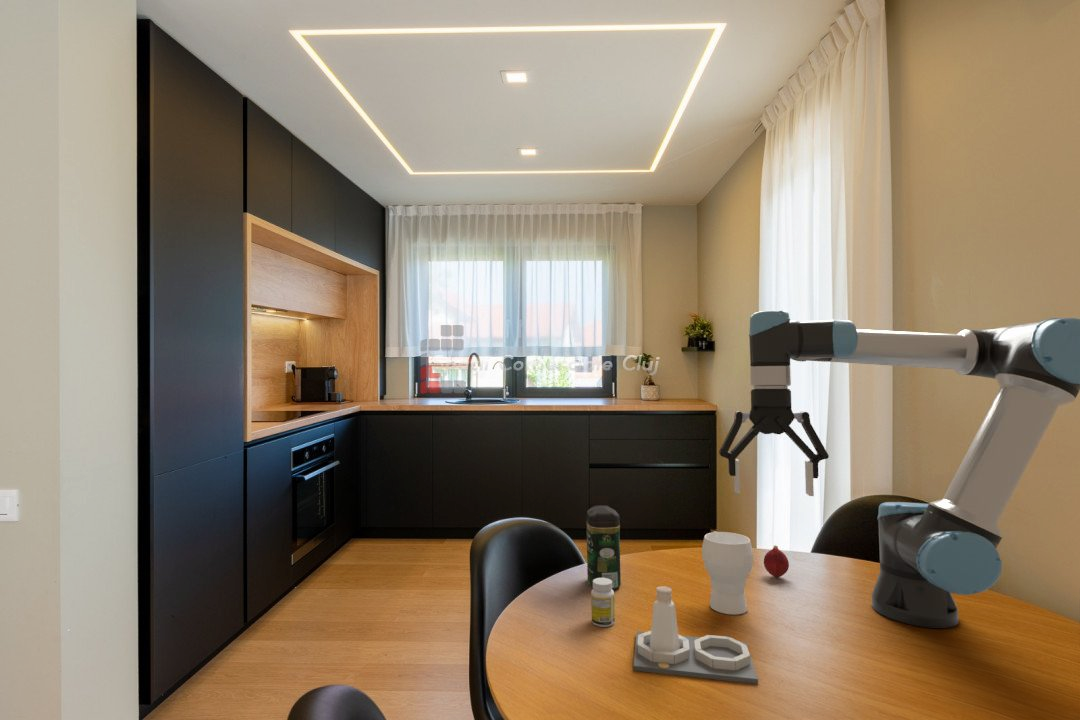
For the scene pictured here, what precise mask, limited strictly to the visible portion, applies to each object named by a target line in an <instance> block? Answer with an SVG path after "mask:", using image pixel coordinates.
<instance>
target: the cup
mask: <svg viewBox="0 0 1080 720" xmlns="http://www.w3.org/2000/svg"><path fill="white" fill-rule="evenodd" d="M702 541H703V542H702V547H701V555H702V562H703V564H704V567H705V570H706V571H707V573H708V576H709V577H710V578H709V579H710V584H711V593H710V598H709V599H710V602H709V607H710V608H711V609H712V610H714V611H716V612H718V613H721V614H726V615H742V614H745V613H747V612H748V606H747V605H748V604H747V599H746V594H745V591H746V590H745V589H746V581H747V580H748V577H749V576H750V574H751V572H752V569H753V565H754V549H753V547H752V542H751V539H750V538H749V537H748V536H746V535H743V534H739V533H735V532H727V531H718V532H717V531H716V532H715V531H713V532H709V533H708V532H707V533H706V534H705V535H704V537H703V540H702Z"/></svg>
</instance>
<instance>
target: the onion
mask: <svg viewBox="0 0 1080 720" xmlns="http://www.w3.org/2000/svg"><path fill="white" fill-rule="evenodd" d="M763 566H764V568H765V570H766V571H767V572H768V574H770V575H771V576H772V577H773V578H774V579H778V578H780V577H782V576H784V575H785V574H786V573H787V572H788V571H789V566H790V564H789V559H788V558H787V556H786V554H785V553H784V552H783V551H782V550H780V549H779V546H777V545H776V544H774V545H773V548H772V549H769V551H767V553H765V555H764V558H763Z"/></svg>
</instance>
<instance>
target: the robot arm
mask: <svg viewBox="0 0 1080 720" xmlns="http://www.w3.org/2000/svg"><path fill="white" fill-rule="evenodd" d="M748 337H749V358H750V360H749V361H750V364H749V365H750V367H749V368H750V385H751V387H753V388H751V390H750V410H749V412H742V411H739V410H735V412H734V418H733V420H734V421H733V422H732V425H731V427H730V429H729V431H728V432H727V434H726V437H725V438H724V440H723V442H722V445H721V447H720V449H719V450H718V454H719V455H720V457H722V458H725V459H727V461H728V474H729V476H731V477H734V478H733V479H734V480H733V482H734V487H733V488H734V492H735V494H741V469H740V468H741V467H740V466H741V464H740V463H741V462H740V460H739V459H738V457H739V456H740V455H741V453H742V452H743V451H745V449H746V448H747V447H748V445H749V444H750V443H751V442H752V441H753V439H755V438H756V437H757V436H758V435H759V433H761V434H763V435H771V434H775V435H781V434H784V433H785V434H786V435H787V437H789V439H790V440H791V441H792V442H793V443H794V444H795V445H796V446H797V447H798V448H799V450H800V451H801V452H802V453H803V454H804V456H806V458H808V460H805V461H804V469H805V471H804V475H805V476H804V477H805V494H806V495H807V496H809V497H815V496H814V495H815V492H814V479H818V478H819V463H820V462H821V461H823V460H828V459H829V458H830V457H829V454H828V452H827V450H826V448H825V446H824V444H823V443H822V441H821V439H820V437H819V436H818V434H817V433H816V431H815V428H814V427H813V425H812V423H811V418H810V413H809V412H807V411H800V412H794V413H793V410H792V391H791V389H790V388H789V387H790V386H791V385H792V381H791V380H792V379H791V378H792V377H791V360H793V361H796V362H806V361H811V362H824V363H825V362H828V363H829V362H830V363H845V364H857V365H858V364H859V365H860V364H861V365H877V366H878V365H879V366H891V367H892V366H893V367H907V368H908V367H909V368H924V369H939V370H941V369H942V370H953V371H954V372H955V373H957V374H958V375H961V376H972V377H973V376H974V377H983V378H989V379H993V380H994V379H995V380H996V382H997V385H999V390H998V391H997V393H996V395H995V397H994V400H993V401H992V403H991V404H990V407H989V409H988V411H987V413H986V415H985V417H984V418H983V420H982V423H981V424H980V426H979V428H978V430H977V432H976V435H975V436H974V438H973V440H972V442H971V444H970V445H969V448H968V450H967V452H966V453H965V456H964V457H963V458H962V461H961V462H960V465H959V467H958V469H957V471H956V472H955V475H954V476H953V479H952V480H951V482H950V484H949V486H948V488H947V491H946V492H945V494H944V496H943V498H941V499H938V500H934V501H930V502H929V503H921V502H906V501H905V502H903V501H902V502H901V501H885V502H882V503H880V504H879V505H878V515H877V521H878V546H879V573H878V576H877V579H876V582H875V583H874V587H873V590H872V593H871V606H872V608H873V609H874V610H875V611H876V612H877V613H879V614H880V615H882V616H885V617H887V618H888V619H891V620H893V621H897V622H900V623H903V624H906V625H911V626H916V627H922V628H931V629H946V628H947V629H948V628H953V627H955V626H957V625H959V623H958V622H959V621H960V620H959V618H960V617H959V609H958V606H957V604H956V601H955V600H954V597H953V595H952V594H954V595H955V594H956V595H959V596H960V595H961V596H968V595H969V596H971V595H975V594H980V593H983V592H985V591H986V590H989V589H990V588H991V587H993V586H994V585H995V584H996V583H997V582H998V580H999V579H1000V576H1001V574H1002V571H1003V570H1002V569H1003V562H1002V560H1001V557H1000V553H999V551H998V549H997V548H998V546H999V545H1000V543H1001V540H1002V539H1003V534H1002V532H1001V530H1000V528H999V526H998V522H999V520H1000V518H1001V516H1002V515H1003V513H1004V511H1005V509H1006V506H1007V505H1008V503H1009V501H1010V499H1011V497H1012V495H1013V493H1014V492H1015V490H1016V488H1017V486H1018V484H1019V482H1020V480H1021V478H1023V477H1022V476H1023V474H1024V472H1025V471H1026V469H1027V466H1028V465H1029V463H1030V461H1031V459H1032V457H1033V455H1034V454H1035V452H1036V450H1037V448H1038V446H1039V444H1040V442H1041V441H1042V438H1043V437H1044V435H1045V433H1046V431H1047V429H1048V427H1049V426H1050V423H1051V421H1052V419H1053V418H1054V416H1055V414H1056V412H1057V410H1058V408H1059V407H1060V406H1062V405H1066V404H1067V405H1068V404H1070V403H1073V402H1075V400H1076V398H1077V396H1078V394H1079V393H1080V318H1078V317H1077V318H1075V317H1064V318H1062V317H1061V318H1060V317H1051V318H1048V319H1045V320H1042V321H1035V322H1028V323H1022V324H1014V325H1008V326H1003V327H997V328H989V329H962V330H960V331H959V332H957V333H944V332H943V333H939V332H938V333H937V332H918V331H898V330H896V331H895V330H879V329H878V330H877V329H876V330H875V329H859V328H857V326H856V324H855V323H854V322H853V321H851V320H849V319H834V318H833V319H823V320H822V319H821V320H820V319H819V320H791V318H790V314H789V312H787V311H785V310H763V311H762V310H761V311H758V312H754V313H752V314H751V316H750V319H749V334H748ZM747 419H749V421H750V422H751V423H752V426H751V427H750V429H749V430H747V433H746V434H745V435H744V436H743V437H742V438H741V439H740V440H739V442H738V443H737V444H736V445H735V446H734V447H733V448H732V449H731V450H730V448H731V446H732V444H733V442H734V441H735V439H736V436H737V435H738V432H739V430H740V429H741V426H742V424H743V423H746V420H747ZM794 420H796V422H798V423H800V425H801V426H802V428H803V430H804V431H805V434H806V436H807V437H808V439H809V440H810V442H811V444H812V446H813V448H814V451H815V452H816V453H815V452H814V451H813V450H812V449H811V448H810V447H809V446H808V445H807V444H806V443H805V442H804V441H803V439H802V438H801V437H800V436H799V435H798V434H797V432H796V431H795V430H794V429H793V428H792V427H791V426H790V425H791V424H792V423H793V421H794ZM729 451H730V452H729Z"/></svg>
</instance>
